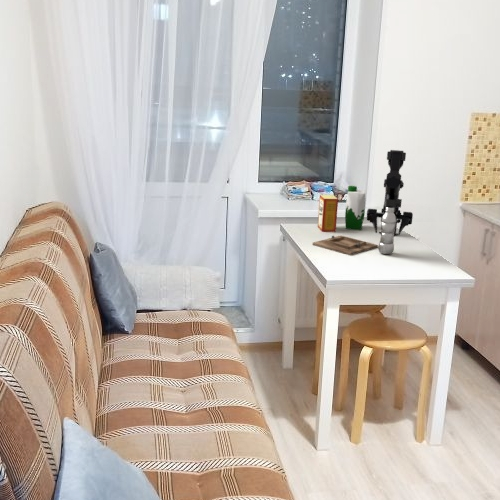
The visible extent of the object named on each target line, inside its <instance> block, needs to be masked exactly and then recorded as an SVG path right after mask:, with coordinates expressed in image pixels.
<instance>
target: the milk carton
mask: <svg viewBox="0 0 500 500" xmlns="http://www.w3.org/2000/svg"><path fill="white" fill-rule="evenodd" d="M347 188H348V189H347V195H346V202H345V212H344V213H345V214H344V215H345V217H344V219H345V222H344V223H345V229H346V230H353V231H354V230H356V231H361V230H362V227H363V223H364V220H365V214H366V213H365V212H366V201H367V200H366V190H361V189H358V187H357V186H356V185H349V186H348V187H347Z"/></svg>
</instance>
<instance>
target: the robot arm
mask: <svg viewBox="0 0 500 500" xmlns="http://www.w3.org/2000/svg"><path fill="white" fill-rule="evenodd" d="M406 155H407V153H406V152H404V150H399V149H397V150H395V149H390V151H387V153H386V160H387V165H388V167H389V172H388V173H387V174H386V179H385V178H384V182H383V188H384V189H385V194H384V202H383V207H382V208H381V211H380V212H378V209H377V208H367V211H366V221H368V222H369V223H371V224H372V226H373V228H374V232H375V233H376V234H377V233H378V218H380V219H381V218H382V216H383V215H384V214H385V213H386V211H385V210H386V207H391V208H392V207H395V209H394V210H395V212H394V214H395V216H396V218H397V222H396V226H395V231H394V236H400V235H401V233H402V232H403V229H404V228H405V227H407V226H409V225H412V224H413V218H414V217H413V212H411V211H403V214H402V213H401V212H402V211H401V210H400V208H401V207H402V200H403V199H401V198H400V197H399V196H400V191H401V189H402V188H404V185H405V184H404V182H403V180H402V174H401V173H400V169H402V168H403V166H404V162H405V161H406ZM399 223H400V225H399V229H398V233H397V226H398V224H399ZM381 229H382V227H381V226H380V231H379V233H378V234H380V235H381V232H382V231H381Z"/></svg>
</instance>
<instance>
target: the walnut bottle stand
mask: <svg viewBox="0 0 500 500" xmlns="http://www.w3.org/2000/svg"><path fill="white" fill-rule="evenodd" d="M312 246H314V247H315V246H316V247H319V248H323V249H327V250H329V251H333V252H334V251H335V252H337V253H340V254H343V255H348V256H353V255H356V254H359V253H362V252H363V253H364V252H367V251H369V250H373V249H376V248H378V246H379V244H375V243H372V242H368V241H365V240H364V241H363V240H361V239H356V238H352V237H348V236H344V235H338V236H337V235H336V236H335V235H331V237H330V238H326V239H322V240H318V241H314V242H312Z"/></svg>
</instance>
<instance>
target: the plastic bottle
mask: <svg viewBox="0 0 500 500" xmlns="http://www.w3.org/2000/svg"><path fill="white" fill-rule="evenodd" d="M394 209H395V207H392V208H391V207H386V210H385V211H386V213H385V214H384V215H383V216H382V218H380V223H381V224H380V225H381V226H380V232H381V231H382V232H381V234H380V240H379V242H378V243H379V244H378V247H377V248H378V251H379V253H380V254H384V255H391V254H393V252H394V251H395V243H394V242H395V241H394V240H395V235H394V231H395V226H396V222H397V220H398V219H397V218H396V216H395V214H394V212H395V210H394ZM381 227H382V229H381Z"/></svg>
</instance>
